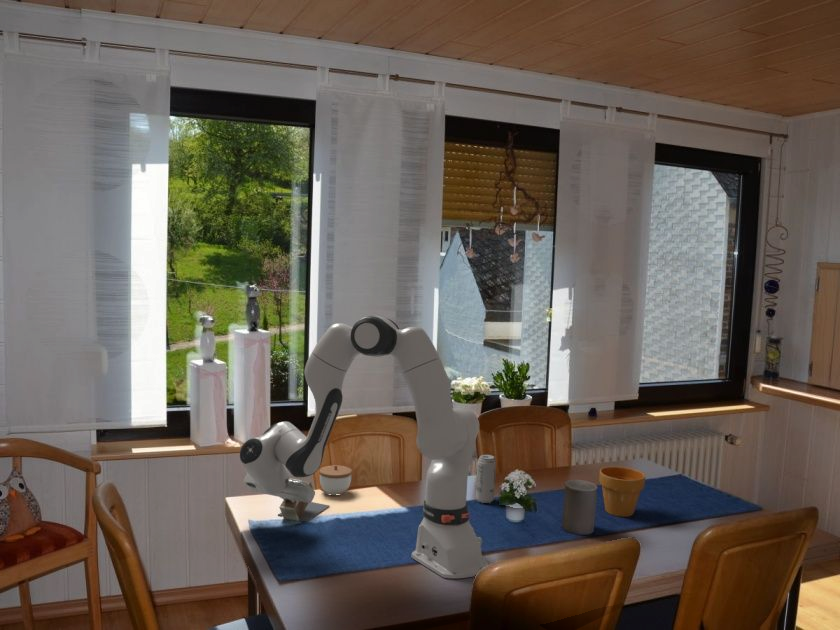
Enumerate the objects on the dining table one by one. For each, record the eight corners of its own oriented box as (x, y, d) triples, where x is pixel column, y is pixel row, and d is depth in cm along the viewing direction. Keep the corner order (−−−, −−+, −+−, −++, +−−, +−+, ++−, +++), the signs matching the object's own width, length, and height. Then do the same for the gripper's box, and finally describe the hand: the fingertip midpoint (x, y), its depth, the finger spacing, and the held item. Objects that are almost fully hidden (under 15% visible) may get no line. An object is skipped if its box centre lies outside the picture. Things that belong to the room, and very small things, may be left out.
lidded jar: (356, 491, 248) (357, 463, 247) (340, 500, 238) (341, 472, 237) (329, 485, 252) (330, 458, 251) (312, 494, 242) (313, 466, 242)
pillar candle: (554, 526, 224) (558, 478, 222) (575, 519, 230) (578, 473, 229) (580, 537, 217) (584, 488, 215) (600, 530, 223) (604, 482, 221)
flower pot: (641, 523, 230) (644, 482, 229) (594, 515, 235) (597, 476, 233) (643, 508, 244) (646, 470, 242) (599, 501, 248) (601, 464, 247)
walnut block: (293, 510, 216) (310, 481, 225) (279, 507, 218) (296, 479, 226) (298, 521, 219) (314, 492, 227) (283, 518, 221) (300, 490, 229)
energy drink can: (494, 504, 241) (496, 459, 239) (475, 503, 241) (478, 458, 239) (493, 498, 247) (495, 454, 245) (475, 497, 247) (477, 453, 245)
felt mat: (306, 521, 219) (306, 520, 219) (278, 515, 223) (278, 514, 223) (329, 506, 232) (329, 505, 232) (302, 501, 236) (302, 500, 236)
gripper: (308, 474, 207) (325, 496, 218) (247, 462, 215) (266, 484, 225) (300, 494, 204) (316, 516, 214) (238, 481, 211) (257, 503, 222)
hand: (290, 499), depth 220 cm, fingers closed, pressing on walnut block
